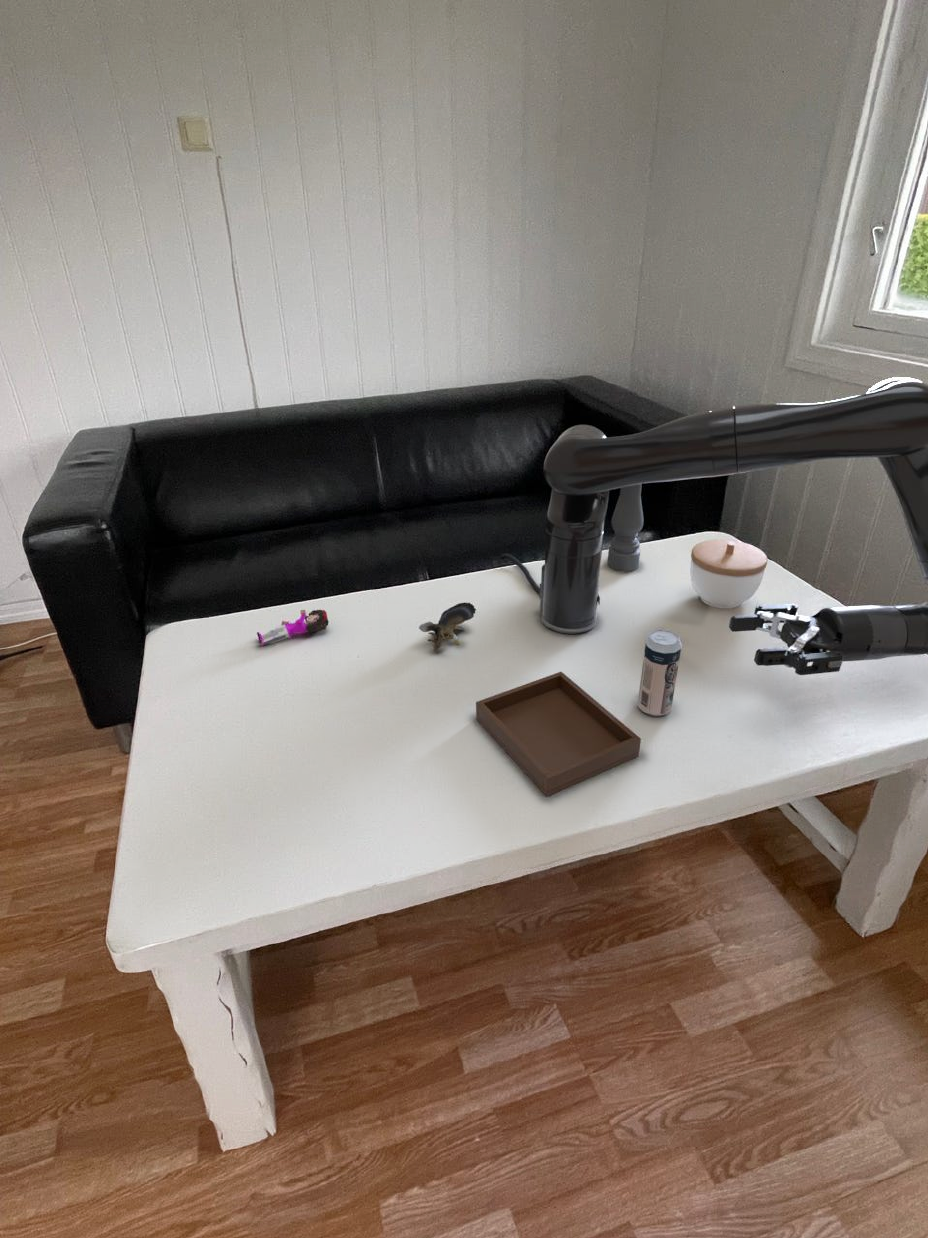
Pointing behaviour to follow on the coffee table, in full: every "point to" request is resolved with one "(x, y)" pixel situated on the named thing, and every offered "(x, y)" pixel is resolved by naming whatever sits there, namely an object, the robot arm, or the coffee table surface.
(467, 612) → the brown irregular figure
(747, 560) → the lidded bowl
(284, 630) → the character figurine
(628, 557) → the candle holder
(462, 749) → the coffee table surface
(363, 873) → the coffee table surface
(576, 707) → the tray
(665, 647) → the beer can
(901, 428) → the robot arm
